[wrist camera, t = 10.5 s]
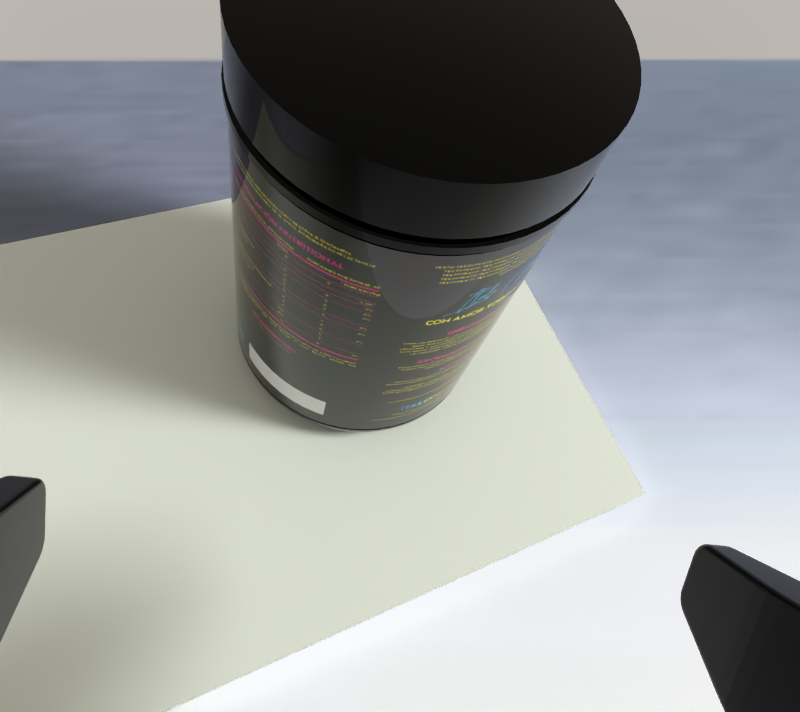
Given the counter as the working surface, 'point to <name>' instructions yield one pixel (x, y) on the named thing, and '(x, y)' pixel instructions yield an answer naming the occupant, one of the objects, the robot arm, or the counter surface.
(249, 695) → the counter surface
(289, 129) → the supplement container
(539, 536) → the mat
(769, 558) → the counter surface
